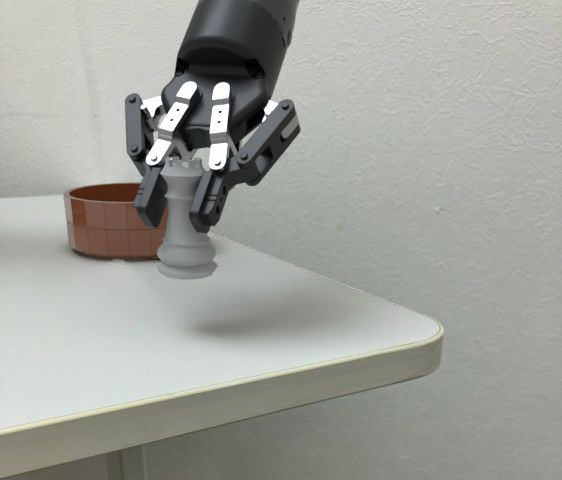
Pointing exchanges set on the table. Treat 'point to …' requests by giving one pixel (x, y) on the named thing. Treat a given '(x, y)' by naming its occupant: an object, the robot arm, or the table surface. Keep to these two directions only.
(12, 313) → the table surface
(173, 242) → the rook chess piece
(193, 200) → the robot arm
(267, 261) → the table surface
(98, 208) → the bowl
